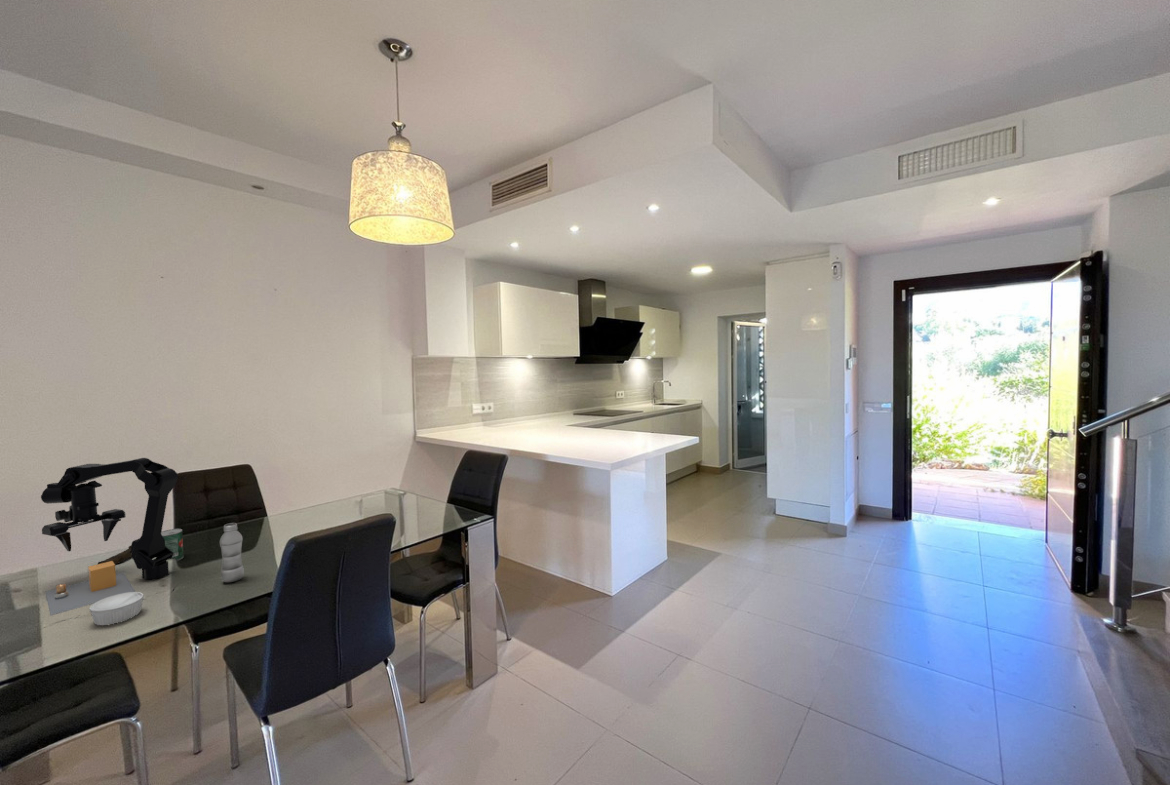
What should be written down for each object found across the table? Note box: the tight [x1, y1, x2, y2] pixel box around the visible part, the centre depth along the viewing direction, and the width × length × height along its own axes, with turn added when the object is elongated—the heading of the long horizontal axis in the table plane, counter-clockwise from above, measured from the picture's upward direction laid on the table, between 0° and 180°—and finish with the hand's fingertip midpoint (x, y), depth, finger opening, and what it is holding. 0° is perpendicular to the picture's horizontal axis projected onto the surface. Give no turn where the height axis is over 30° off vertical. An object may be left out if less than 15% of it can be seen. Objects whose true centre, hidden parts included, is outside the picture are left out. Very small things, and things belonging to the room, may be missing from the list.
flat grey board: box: [44, 571, 137, 616], centre depth 147 cm, size 24×18×2 cm
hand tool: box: [97, 545, 132, 566], centre depth 175 cm, size 19×4×5 cm, turn 7°
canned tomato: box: [161, 528, 185, 561], centre depth 175 cm, size 8×8×11 cm
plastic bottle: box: [219, 522, 245, 583], centre depth 157 cm, size 6×7×20 cm
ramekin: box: [88, 591, 145, 626], centre depth 134 cm, size 11×11×5 cm
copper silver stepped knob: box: [55, 583, 68, 599], centre depth 143 cm, size 3×3×4 cm
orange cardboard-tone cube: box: [88, 561, 117, 592], centre depth 150 cm, size 6×6×7 cm
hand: (88, 545), depth 155 cm, fingers open, 9 cm apart
